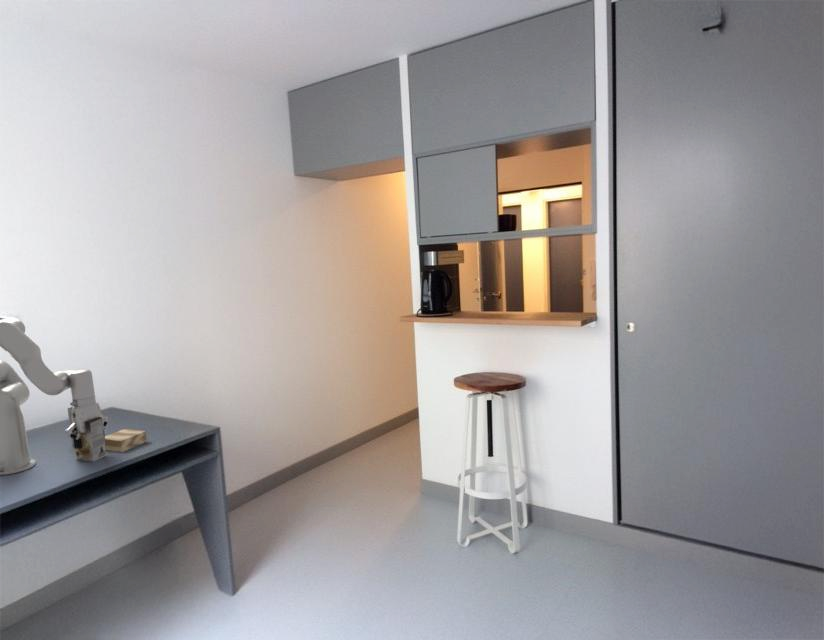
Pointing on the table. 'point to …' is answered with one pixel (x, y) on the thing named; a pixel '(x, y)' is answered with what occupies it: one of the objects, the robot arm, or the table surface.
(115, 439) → the oak block
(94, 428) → the coffee box
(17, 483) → the table surface
